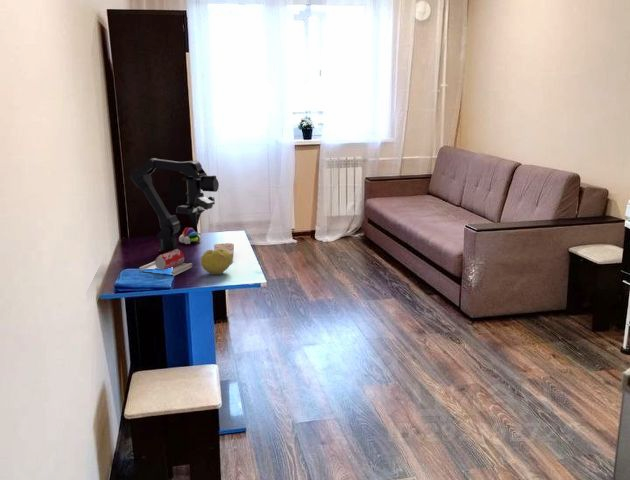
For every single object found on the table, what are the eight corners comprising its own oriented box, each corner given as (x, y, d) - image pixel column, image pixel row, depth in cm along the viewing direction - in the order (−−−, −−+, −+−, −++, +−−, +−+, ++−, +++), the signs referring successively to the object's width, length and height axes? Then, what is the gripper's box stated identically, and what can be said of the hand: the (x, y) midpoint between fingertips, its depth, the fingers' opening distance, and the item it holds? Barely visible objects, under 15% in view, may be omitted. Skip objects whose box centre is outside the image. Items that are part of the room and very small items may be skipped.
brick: (233, 263, 247) (232, 252, 246) (212, 263, 246) (212, 252, 245) (234, 253, 263) (233, 242, 262) (214, 253, 262) (214, 243, 261)
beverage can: (171, 249, 244) (152, 256, 233) (184, 248, 241) (164, 255, 230) (174, 264, 245) (155, 271, 234) (186, 263, 242) (167, 271, 231)
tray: (139, 271, 235) (139, 267, 234) (159, 263, 246) (159, 259, 246) (173, 276, 229) (173, 272, 228) (192, 267, 241) (192, 263, 240)
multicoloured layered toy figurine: (192, 239, 286) (192, 224, 284) (203, 243, 279) (203, 228, 277) (177, 242, 281) (176, 227, 279) (187, 246, 274) (187, 230, 272)
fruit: (233, 277, 227) (232, 252, 225) (201, 279, 225) (200, 253, 223) (231, 269, 238) (230, 244, 235) (201, 270, 236) (200, 246, 233)
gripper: (196, 195, 244) (198, 232, 248) (222, 189, 260) (223, 223, 264) (174, 193, 248) (176, 229, 252) (201, 187, 265) (202, 221, 269)
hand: (195, 226), depth 259 cm, fingers closed
